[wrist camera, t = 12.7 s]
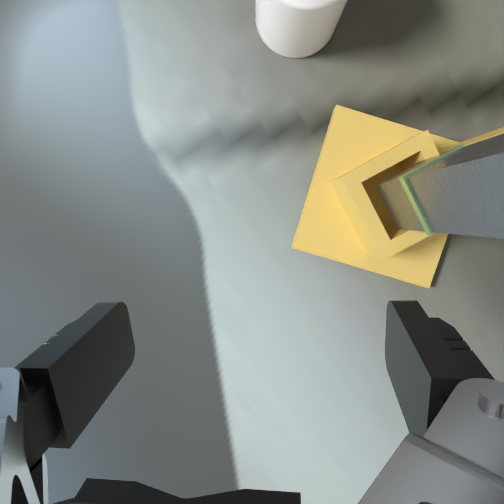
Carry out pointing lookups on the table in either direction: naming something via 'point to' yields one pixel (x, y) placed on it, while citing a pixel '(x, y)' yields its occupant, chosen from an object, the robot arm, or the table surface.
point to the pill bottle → (297, 24)
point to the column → (451, 192)
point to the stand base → (369, 197)
